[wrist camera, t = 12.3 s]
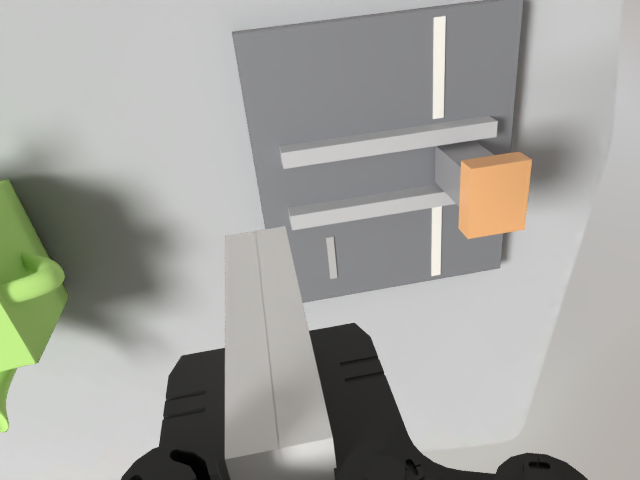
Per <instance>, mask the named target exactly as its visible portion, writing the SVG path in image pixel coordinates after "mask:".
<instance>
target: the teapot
mask: <svg viewBox="0 0 640 480" xmlns="http://www.w3.org/2000/svg"><path fill="white" fill-rule="evenodd" d="M64 279H65V275H64V272H63V270H62V268H61V267H60V265H59V264H57V263H56V262H55V261H53V260H51V259H50V258H49V256H48V254H47V252H46V250H45V248H44V246H43V244H42V243H41V241H40V239H39V237H38V235H37V233H36V231H35V229H34V227H33V225H32V223H31V221H30V219H29V217H28V215H27V214H26V212H25V210H24V208H23V206H22V204H21V202H20V200H19V198H18V196H17V194H16V192H15V190H14V189H13V187H12V185H11V183H10V181H9V179H6V180H2V181H0V432H6V431H7V430H8V428H9V422H8V417H7V412H6V398H7V393H8V389H9V386H10V383H11V381H12V379H13V376H14V374H15V372H16V369H17V368H18V367H22V366H26V365H30V364H36V363H38V362H39V360H40V358H41V356H42V354H43V351H44V349H45V347H46V345H47V343H48V341H49V339H50V337H51V334H52V332H53V330H54V328H55V326H56V324H57V322H58V319H59V317H60V315H61V313H62V311H63V309H64V307H65V305H66V302H67V300H68V298H69V295H68V293H67V291H66V289H65V287H64V285H63V281H64Z"/></svg>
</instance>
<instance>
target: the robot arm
mask: <svg viewBox="0 0 640 480" xmlns="http://www.w3.org/2000/svg"><path fill="white" fill-rule="evenodd" d="M163 416H164V420H163V421H162V428H161V436H160V443H159V447H157V448H154V449H152V450H151V451H149V452H148V453H146V454H145V455H143V456H142V457H141V458H139V459H138V460H136V461H135V462H134V463H133V465H132V466H131V467H130V468H129V469H128V471H127V472H126V473H125V474H124V475H123V476H122V478H121V480H588V479H587V478H585V477H584V475H582V474H581V473H580V472H578V471H577V470H576V469H574V468H573V467H572V466H570V465H569V464H568V463H566V462H564V461H561V460H559V459H556V458H554V457H551V456H549V455H545V454H534V453H525V454H521V455H517V456H513V457H510V458H509V459H508V460H506V461H505V462H504V463H503V464H501V465H500V466H499V467H498V469H497V472H496V474H490V473H480V472H470V471H461V470H456V469H451V468H446V467H444V466H442V465H439V464H437V463H434V462H433V461H431V460H430V459H428V458H427V457H426V456H424V455H423V454H422V453H421V452H420V451H419V450H418V449H417V448H416V447H415V446H414V445H413V443H412V441H411V439H410V437H409V435H408V433H407V431H406V428H405V425H404V423H403V420H402V418H401V415H400V412H399V410H398V407H397V405H396V402H395V399H394V397H393V394H392V392H391V389H390V386H389V384H388V381H387V379H386V376H385V375H384V371H383V368H382V366H381V363H380V360H378V355H377V353H376V350H375V347H374V345H373V342H372V340H371V337H370V336H369V335H368V334H367V333H365V332H364V331H363V330H362V329H361V328H360V327H359V326H358V325H356V324H355V323H351V324H345V325H340V326H334V327H329V328H323V329H317V330H312V331H309V330H308V325H307V321H306V316H305V312H304V307H303V303H302V298H301V294H300V289H299V285H298V280H297V276H296V272H295V267H294V263H293V258H292V254H291V249H290V245H289V240H288V236H287V231H286V227H285V226H283V227H277V228H271V229H265V230H259V231H252V232H246V233H240V234H234V235H228V236H225V348H222V349H216V350H211V351H205V352H200V353H194V354H189V355H183V356H181V358H180V359H179V361H178V362H177V364H176V365H175V367H174V369H173V370H172V372H171V373H170V375H169V378H168V385H167V392H166V401H165V407H164V414H163Z"/></svg>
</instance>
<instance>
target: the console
mask: <svg viewBox="0 0 640 480" xmlns="http://www.w3.org/2000/svg"><path fill="white" fill-rule="evenodd" d="M522 11H523V0H483V1H475V2H467V3H459V4H451V5H443V6H435V7H427V8H419V9H411V10H403V11H395V12H387V13H379V14H371V15H363V16H355V17H347V18H339V19H331V20H323V21H315V22H307V23H299V24H291V25H283V26H275V27H267V28H259V29H251V30H243V31H235V32H232V35H233V41H234V47H235V53H236V59H237V65H238V71H239V77H240V82H241V88H242V94H243V100H244V106H245V112H246V118H247V124H248V130H249V135H250V141H251V147H252V153H253V159H254V165H255V171H256V177H257V183H258V188H259V194H260V200H261V206H262V212H263V218H264V224H265V229H271V228H277V227H283V226H285V227H286V231H287V236H288V240H289V245H290V249H291V254H292V258H293V263H294V267H295V272H296V276H297V280H298V285H299V289H300V294H301V298H302V303H304V302H310V301H316V300H321V299H327V298H333V297H338V296H344V295H350V294H355V293H361V292H367V291H372V290H378V289H384V288H390V287H395V286H401V285H407V284H412V283H418V282H424V281H429V280H435V279H441V278H446V277H452V276H458V275H464V274H469V273H475V272H481V271H486V270H492V269H498V268H500V264H501V252H502V241H503V233H501V234H495V235H489V236H483V237H477V238H471V239H467V238H466V236H465V235H464V234H463V233H462V232H461V231H460V230H459V228H458V227H459V207H458V205H457V204H456V203H455V202H454V201H453V200H452V199H451V198H450V197H449V196H448V195H447V194H446V193H445V192H444V191H443V190H442V189H441V188H440V187H439V185H438V184H437V183H436V182H435V147H436V146H440V145H446V144H453V143H460V142H466V141H473V140H474V141H476V142H477V143H479V144H480V145H481V146H483V147H484V148H485V149H487V150H488V151H490V152H491V153H492V154H494V155H500V154H506V153H510V149H511V137H512V126H513V114H514V103H515V91H516V80H517V68H518V57H519V45H520V34H521V22H522Z"/></svg>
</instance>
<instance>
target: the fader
mask: <svg viewBox="0 0 640 480" xmlns="http://www.w3.org/2000/svg"><path fill="white" fill-rule="evenodd" d="M531 166H532V159H530V158H529V157H527V156H526V155H524V154H523V153H521V152H520V151H519V152H513V153H506V154H500V155H494V154H492V153H491V152H490V151H488V150H487V149H485V148H484V147H483V146H481V145H480V144H479V143H477V142H476V141H474V140H473V141H466V142H460V143H453V144H446V145H440V146H436V147H435V182H436V183H437V184H438V185H439V187H440V188H441V189H442V190H443V191H444V192H445V193H446V194H447V195H448V196H449V197H450V198H451V199H452V200H453V201H454V202H455V203H456V204H457V205H458V207H459V227H458V228H459V230H460V231H461V232H462V233H463V234H464V235H465V236H466V238H467V239H471V238H477V237H483V236H489V235H495V234H501V233H507V232H513V231H519V230H524V229H525V220H526V211H527V202H528V193H529V184H530V175H531Z"/></svg>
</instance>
